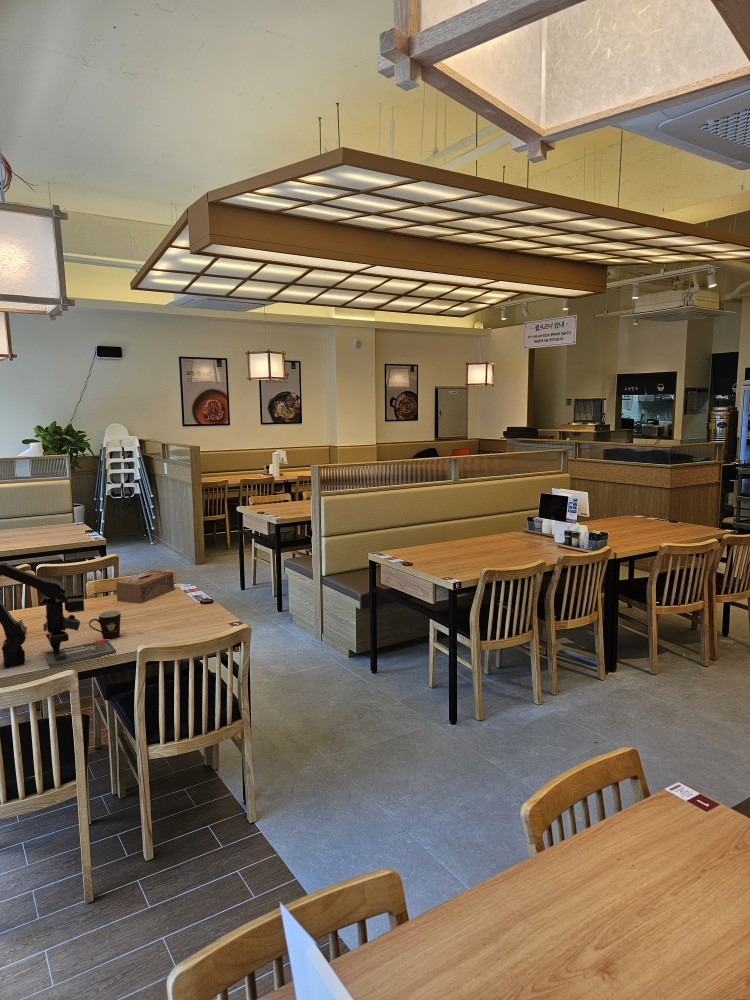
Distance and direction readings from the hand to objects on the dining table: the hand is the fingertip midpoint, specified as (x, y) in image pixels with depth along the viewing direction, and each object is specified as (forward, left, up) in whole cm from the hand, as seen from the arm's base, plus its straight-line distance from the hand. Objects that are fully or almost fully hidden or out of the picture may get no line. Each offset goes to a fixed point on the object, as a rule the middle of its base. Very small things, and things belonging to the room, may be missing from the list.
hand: (56, 653), depth 239 cm
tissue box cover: (+51, +66, -2) cm, 83 cm away
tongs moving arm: (+4, -2, -1) cm, 5 cm away
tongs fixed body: (+8, -4, -1) cm, 9 cm away
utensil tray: (+8, -3, -2) cm, 8 cm away
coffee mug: (+21, +12, -2) cm, 24 cm away
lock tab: (+15, -4, +1) cm, 15 cm away
